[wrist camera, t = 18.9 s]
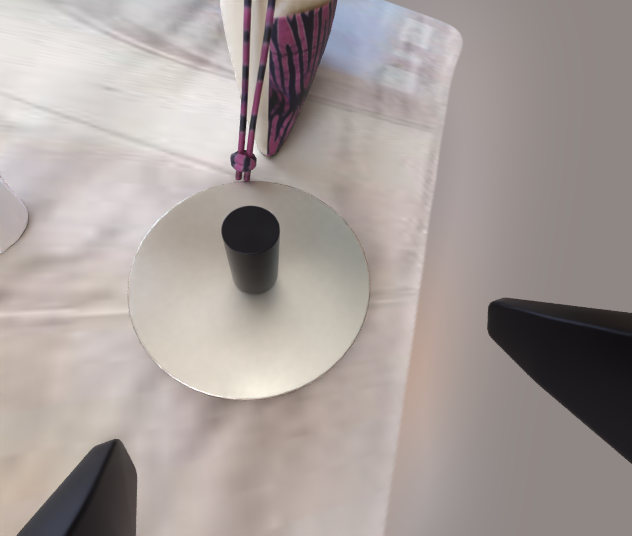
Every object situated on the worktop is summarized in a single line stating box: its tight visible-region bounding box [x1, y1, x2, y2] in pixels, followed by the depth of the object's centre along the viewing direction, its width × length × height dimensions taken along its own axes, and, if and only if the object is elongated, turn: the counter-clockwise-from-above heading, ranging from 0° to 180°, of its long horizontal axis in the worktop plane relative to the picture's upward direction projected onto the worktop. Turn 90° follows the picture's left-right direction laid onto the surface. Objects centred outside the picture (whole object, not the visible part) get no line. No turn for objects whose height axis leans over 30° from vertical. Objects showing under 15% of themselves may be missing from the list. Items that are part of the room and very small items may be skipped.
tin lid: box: [128, 181, 370, 401], centre depth 19 cm, size 15×15×6 cm
